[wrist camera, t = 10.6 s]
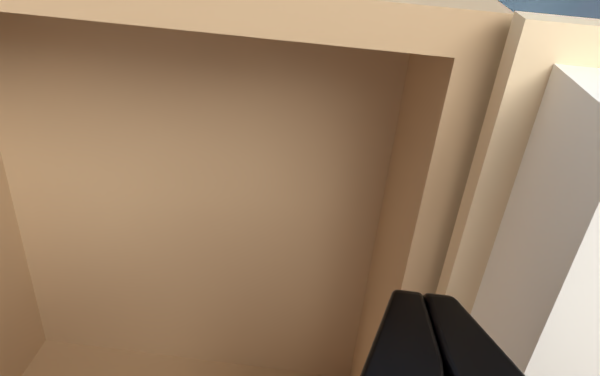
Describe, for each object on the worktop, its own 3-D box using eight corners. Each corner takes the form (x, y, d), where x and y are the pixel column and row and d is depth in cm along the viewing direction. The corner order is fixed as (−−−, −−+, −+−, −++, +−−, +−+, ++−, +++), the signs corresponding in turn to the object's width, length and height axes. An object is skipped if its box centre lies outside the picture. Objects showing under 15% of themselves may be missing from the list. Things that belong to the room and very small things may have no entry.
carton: (453, -34, 14) (515, 14, 8) (366, 377, 22) (370, 531, 16) (-64, -83, 14) (-307, -67, 9) (40, 336, 22) (-55, 473, 17)
